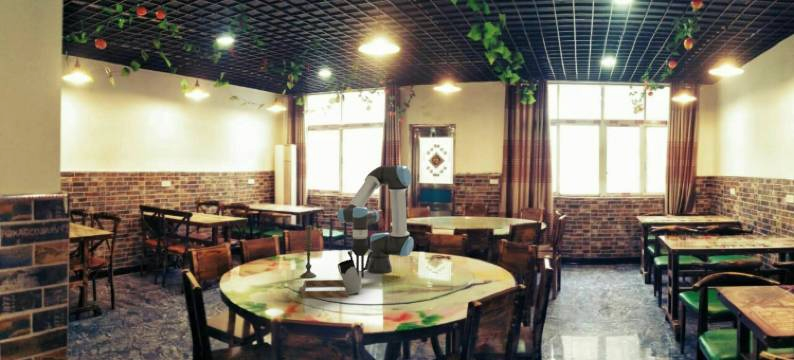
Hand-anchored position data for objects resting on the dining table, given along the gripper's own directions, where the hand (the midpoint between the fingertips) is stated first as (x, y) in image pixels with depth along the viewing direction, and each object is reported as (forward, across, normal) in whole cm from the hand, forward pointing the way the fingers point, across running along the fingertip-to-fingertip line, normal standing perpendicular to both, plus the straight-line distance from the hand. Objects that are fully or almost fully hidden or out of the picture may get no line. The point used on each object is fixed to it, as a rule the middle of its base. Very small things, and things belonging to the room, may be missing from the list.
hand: (359, 283), depth 248 cm
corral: (+4, -17, 0) cm, 17 cm away
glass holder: (+3, -4, -2) cm, 5 cm away
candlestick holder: (+4, -28, +36) cm, 45 cm away
